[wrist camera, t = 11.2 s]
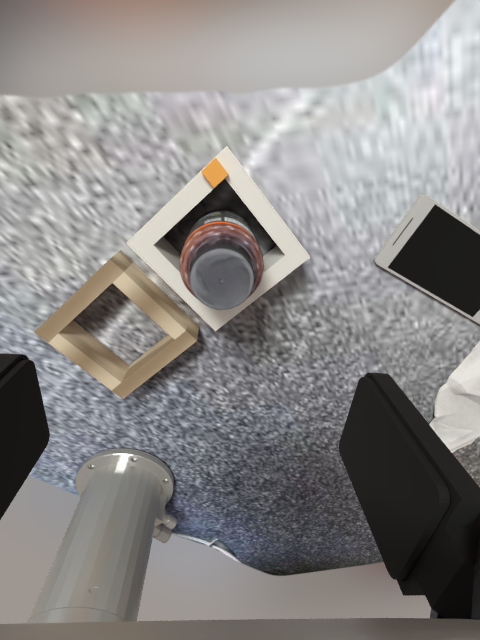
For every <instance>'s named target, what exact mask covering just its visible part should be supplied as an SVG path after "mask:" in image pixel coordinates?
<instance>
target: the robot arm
mask: <svg viewBox="0 0 480 640" xmlns="http://www.w3.org/2000/svg"><path fill="white" fill-rule="evenodd" d="M49 435H50V434H49V428H48V424H47V419H46V414H45V410H44V405H43V401H42V396H41V392H40V387H39V382H38V378H37V373H36V369H35V365H34V362H33V361H31V360H29V359H28V358H27V356H26V355H22V354H0V519H1V517H2V516H3V515H4V513H5V511H6V510H7V508H8V507H9V505H10V503H11V502H12V500H13V499H14V497H15V496H16V494H17V492H18V491H19V489H20V488H21V486H22V484H23V483H24V481H25V480H26V478H27V476H28V475H29V473H30V472H31V470H32V469H33V467H34V465H35V464H36V462H37V461H38V459H39V457H40V456H41V454H42V453H43V451H44V449H45V448H46V446H47V444H48V441H49ZM339 451H340V455H341V458H342V460H343V463H344V465H345V468H346V470H347V472H348V475H349V477H350V480H351V482H352V485H353V487H354V490H355V492H356V495H357V497H358V499H359V502H360V504H361V507H362V509H363V512H364V514H365V517H366V519H367V522H368V524H369V526H370V529H371V531H372V534H373V536H374V539H375V541H376V544H377V546H378V549H379V551H380V553H381V556H382V558H383V561H384V563H385V566H386V568H387V570H388V572H389V574H390V576H391V577H392V578H393V579H396V580H397V581H398V584H399V586H400V589H401V591H402V593H403V595H425V596H426V598H427V600H428V602H429V604H430V606H431V614H430V619H418V618H417V619H415V618H354V619H353V618H352V619H351V618H349V619H256V620H190V621H137V616H138V611H139V606H140V600H141V595H142V590H143V584H144V579H145V574H146V569H147V564H148V558H149V553H150V547H151V543H152V537H154V538H156V539H158V540H159V541H161V542H163V543H166V542H167V541H168V540H169V538H170V536H171V533H172V529H173V528H174V527H175V526H176V524H177V519H176V518H175V517H173V516H171V515H170V514H167V513H166V511H165V505H166V504H167V503H168V501H169V500H170V498H171V496H172V494H173V488H174V478H173V475H172V473H171V471H170V469H169V468H168V467H167V466H166V465H165V464H164V463H163V462H162V461H161V460H159V459H158V458H157V457H155V456H153V455H151V454H149V453H146V452H143V451H140V450H135V449H127V448H117V449H109V450H105V451H101V452H99V453H96V454H94V455H92V456H91V457H89V458H88V459H87V460H86V461H85V462H84V463H83V464H82V466H81V468H80V469H79V471H78V474H77V476H76V488H77V491H78V493H79V495H80V497H81V498H80V501H79V503H78V505H77V508H76V510H75V512H74V515H73V517H72V519H71V521H70V524H69V526H68V528H67V531H66V533H65V536H64V538H63V540H62V543H61V545H60V547H59V550H58V552H57V554H56V557H55V559H54V561H53V564H52V566H51V568H50V571H49V573H48V575H47V578H46V580H45V582H44V585H43V587H42V589H41V592H40V594H39V596H38V599H37V601H36V603H35V606H34V608H33V610H32V613H31V615H30V617H29V620H28V622H27V624H0V640H480V488H479V486H478V485H477V484H476V483H475V481H474V480H473V479H472V478H471V476H470V475H469V474H468V473H467V471H466V470H465V469H464V468H463V466H462V465H461V464H460V463H459V461H458V460H457V459H456V458H455V456H454V455H453V454H452V453H451V451H450V450H449V449H448V448H447V446H446V445H445V444H444V443H443V441H442V440H441V439H440V438H439V436H438V435H437V434H436V433H435V431H434V430H433V429H432V428H431V426H430V425H429V424H428V423H427V421H426V420H425V419H424V418H423V416H422V415H421V414H420V413H419V411H418V410H417V409H416V408H415V406H414V405H413V404H412V403H411V401H410V400H409V399H408V398H407V396H406V395H405V394H404V393H403V391H402V390H401V389H400V387H399V386H398V385H397V384H396V382H395V381H394V380H393V379H392V377H391V376H390V375H389V374H382V373H367V374H366V375H365V377H362V378H360V379H359V382H358V385H357V388H356V391H355V394H354V398H353V401H352V404H351V407H350V410H349V414H348V417H347V420H346V423H345V426H344V429H343V433H342V436H341V439H340V443H339Z"/></svg>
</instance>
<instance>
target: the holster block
mask: <svg viewBox="0 0 480 640" xmlns="http://www.w3.org/2000/svg"><path fill="white" fill-rule="evenodd" d="M112 283H113V284H114V285H115V286H116V287H117V288H119V289H120V290H121V291H122V292H123V293H124V294H125V295H126V296H127V297H128V298H130V299H131V300H132V301H133V302H134V303H135V304H136V305H137V306H138V307H139V308H140V309H142V310H143V311H144V312H145V313H146V314H147V315H148V316H149V317H150V318H151V319H153V320H154V321H155V322H156V323H157V324H158V325H159V326H160V327H161V328H162V329H164V330H165V331H166V332H167V333H168V335H166V336H165V337H164V338H163V339H162V340H160V341H159V342H158V343H157V344H155V345H154V346H153V347H152V348H151V349H149V350H148V351H147V352H146V353H144V354H143V355H142V356H141V357H140V358H138V359H137V360H136V361H135V362H133V363H132V364H131V365H130V366H129V365H128V364H126V363H125V362H124V361H123V360H121V359H120V358H119V357H118V356H117V355H115V354H114V353H113V352H112V351H110V350H109V349H108V348H107V347H105V346H104V345H103V344H102V343H100V342H99V341H98V340H97V339H96V338H94V337H93V336H92V335H91V334H89V333H88V332H87V331H86V330H84V329H83V328H82V327H81V326H79V325H78V324H77V323H76V322H75V321H73V319H74V318H75V317H76V316H77V315H78V314H80V313H81V312H82V311H83V310H84V309H85V308H86V307H87V306H88V305H89V304H90V303H91V302H92V301H93V300H94V299H96V298H97V297H98V296H99V295H100V294H101V293H102V292H103V291H104V290H105V289H106V288H107V287H108V286H109V285H111V284H112ZM198 331H199V326H198V325H197V324H196V323H195V322H194V321H193V320H192V319H191V318H190V317H189V316H188V315H187V314H186V313H185V312H184V311H183V310H182V309H180V308H179V307H178V306H177V305H176V304H175V303H174V302H173V301H172V300H171V299H170V298H169V297H168V296H167V295H166V294H165V293H164V292H163V291H162V290H161V289H160V288H159V287H158V286H157V285H156V284H155V283H154V282H153V281H152V280H151V279H150V278H149V277H148V276H146V275H145V274H144V273H143V272H142V271H141V270H140V269H139V268H138V267H137V266H136V265H135V264H134V263H133V262H132V261H131V260H130V259H129V258H128V257H127V256H126V255H125V254H124V253H123V252H122V251H121V250H120V251H119V252H118V253H117V254H116V255H114V256H113V257H112V258H111V259H110V260H109V261H108V262H107V263H105V264H104V265H103V266H102V267H101V268H100V269H99V270H98V271H97V272H96V273H95V274H94V275H93V276H92V277H91V278H90V279H89V280H88V281H87V282H86V283H85V284H84V285H83V286H82V287H81V288H80V289H79V290H78V291H76V292H75V293H74V294H73V295H72V296H71V297H70V298H69V299H68V300H67V301H66V302H65V303H64V304H63V305H62V306H61V307H60V308H59V309H58V310H57V311H56V312H55V313H54V314H53V315H52V316H51V317H50V318H48V319H47V320H46V321H45V322H44V323H43V324H42V325H41V326H40V327H39V328H38V329H37V330H36V331H35V333H36V334H37V335H39V336H40V337H41V338H43V339H44V340H45V341H47V342H48V343H49V344H51V345H52V346H53V347H55V348H56V349H57V350H59V351H60V352H61V353H63V354H64V355H65V356H67V357H68V358H69V359H70V360H72V361H73V362H74V363H76V364H77V365H78V366H80V367H81V368H82V369H84V370H85V371H86V372H88V373H89V374H90V375H92V376H93V377H94V378H96V379H97V380H98V381H100V382H101V383H102V384H104V385H105V386H106V387H108V388H109V389H110V390H112V391H113V392H114V393H116V394H117V395H118V396H120V397H121V398H122V399H124V398H125V397H126V396H128V395H129V394H130V393H131V392H133V391H134V390H135V389H136V388H138V387H139V386H140V385H142V384H143V383H144V382H145V381H147V380H148V379H149V378H150V377H152V376H153V375H154V374H156V373H157V372H158V371H159V370H161V369H162V368H163V367H164V366H166V365H167V364H168V363H170V362H171V361H172V360H173V359H175V358H176V357H177V356H178V355H180V354H181V353H182V352H184V351H185V350H186V349H187V348H189V347H190V346H191V345H192V344H194V343H195V342H196V341H197V338H198Z"/></svg>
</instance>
